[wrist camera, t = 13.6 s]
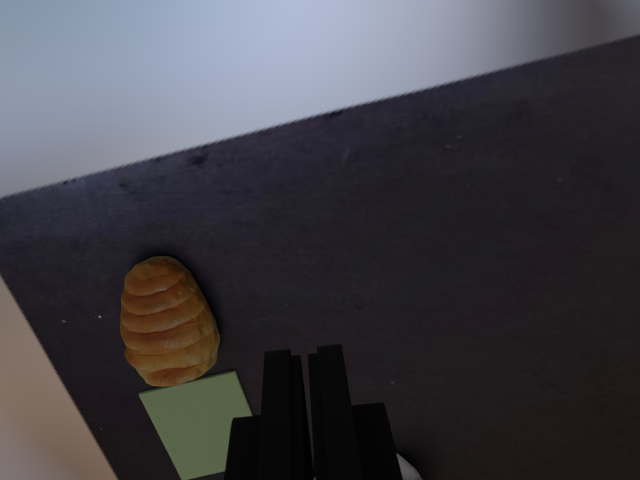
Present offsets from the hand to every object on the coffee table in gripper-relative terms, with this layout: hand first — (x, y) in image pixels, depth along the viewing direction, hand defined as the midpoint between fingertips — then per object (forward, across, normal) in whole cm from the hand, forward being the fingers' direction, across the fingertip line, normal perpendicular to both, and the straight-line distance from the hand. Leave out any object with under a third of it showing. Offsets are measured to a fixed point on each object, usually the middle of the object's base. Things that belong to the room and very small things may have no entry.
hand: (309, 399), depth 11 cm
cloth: (+23, +10, +24) cm, 34 cm away
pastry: (+24, +11, +13) cm, 29 cm away
